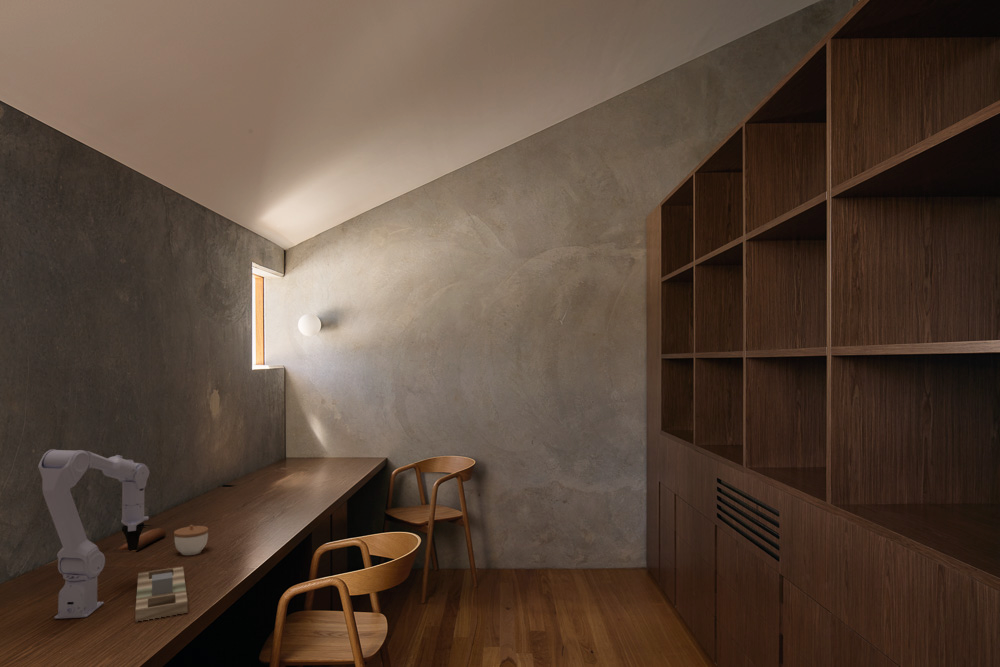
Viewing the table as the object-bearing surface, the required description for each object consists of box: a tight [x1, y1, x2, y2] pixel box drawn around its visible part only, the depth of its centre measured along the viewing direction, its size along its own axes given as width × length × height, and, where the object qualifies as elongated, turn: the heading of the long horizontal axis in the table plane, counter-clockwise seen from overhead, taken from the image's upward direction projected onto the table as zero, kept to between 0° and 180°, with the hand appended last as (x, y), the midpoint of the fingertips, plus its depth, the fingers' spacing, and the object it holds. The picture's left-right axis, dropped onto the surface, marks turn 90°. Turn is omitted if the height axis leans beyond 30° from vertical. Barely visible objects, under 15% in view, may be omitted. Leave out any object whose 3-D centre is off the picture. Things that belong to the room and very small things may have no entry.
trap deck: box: [134, 565, 189, 623], centre depth 182 cm, size 32×12×3 cm, turn 28°
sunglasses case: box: [117, 527, 166, 552], centre depth 232 cm, size 18×7×7 cm
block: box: [152, 572, 173, 596], centre depth 179 cm, size 5×5×4 cm
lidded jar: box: [173, 524, 209, 556], centre depth 223 cm, size 11×11×9 cm
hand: (133, 549), depth 192 cm, fingers closed
